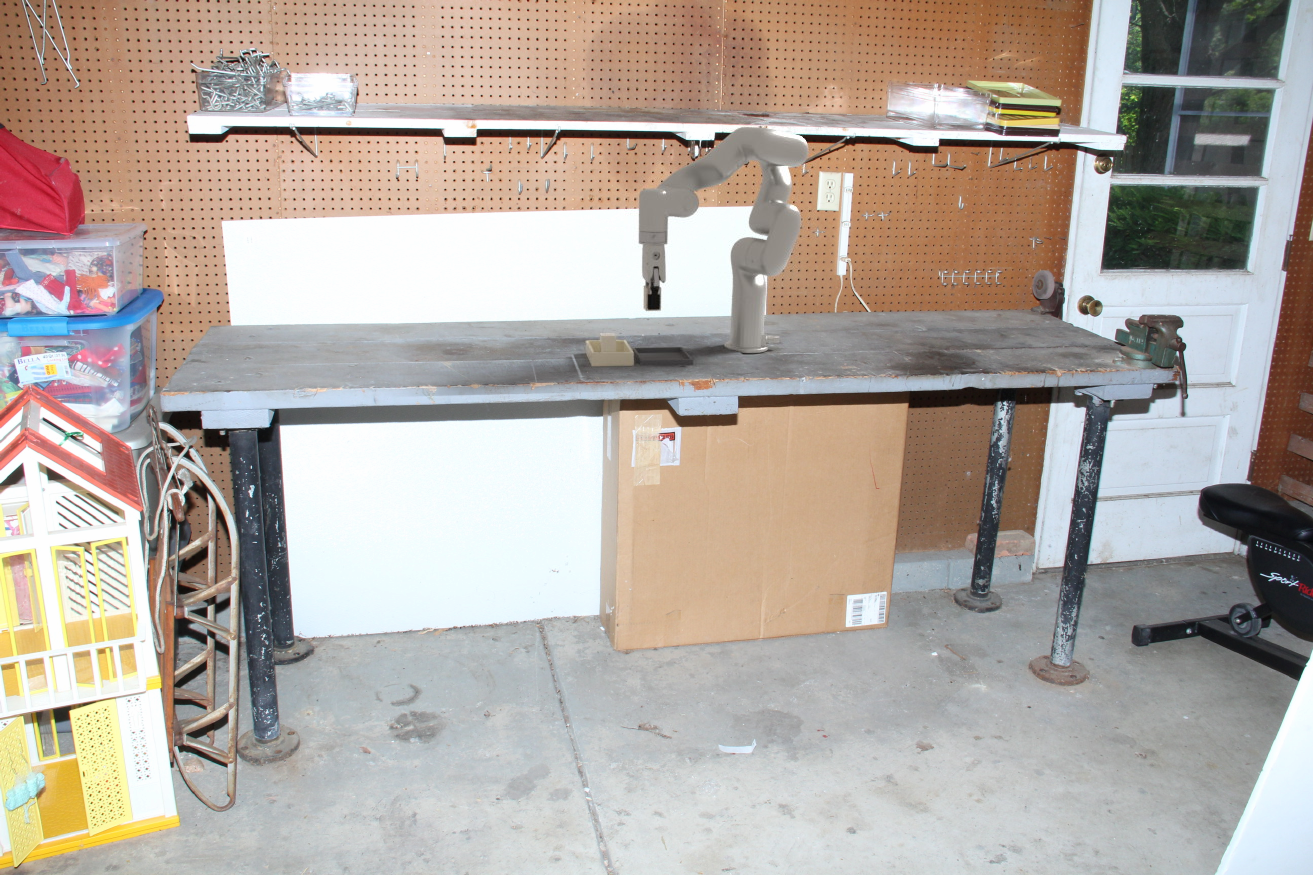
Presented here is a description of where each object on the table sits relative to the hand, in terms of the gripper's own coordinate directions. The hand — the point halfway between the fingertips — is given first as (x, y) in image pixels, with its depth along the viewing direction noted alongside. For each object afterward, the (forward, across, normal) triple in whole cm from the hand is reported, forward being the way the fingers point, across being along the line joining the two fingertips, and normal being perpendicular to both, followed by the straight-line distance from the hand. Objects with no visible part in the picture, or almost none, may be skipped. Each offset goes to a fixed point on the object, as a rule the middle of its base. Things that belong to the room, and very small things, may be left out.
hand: (652, 307), depth 260 cm
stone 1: (+14, +5, +11) cm, 19 cm away
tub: (+15, +1, +11) cm, 19 cm away
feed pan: (+15, +1, -3) cm, 15 cm away
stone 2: (+1, 0, 0) cm, 1 cm away
